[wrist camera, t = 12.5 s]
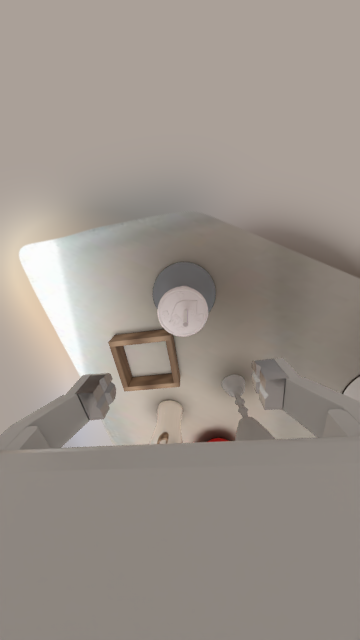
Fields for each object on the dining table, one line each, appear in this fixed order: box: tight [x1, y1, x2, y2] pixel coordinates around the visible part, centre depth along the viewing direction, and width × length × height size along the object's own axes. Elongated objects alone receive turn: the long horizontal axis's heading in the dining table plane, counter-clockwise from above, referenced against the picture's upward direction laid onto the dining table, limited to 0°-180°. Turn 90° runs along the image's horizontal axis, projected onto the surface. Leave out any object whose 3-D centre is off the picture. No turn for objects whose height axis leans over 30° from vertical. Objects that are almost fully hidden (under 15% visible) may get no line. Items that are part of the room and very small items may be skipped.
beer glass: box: [149, 400, 183, 444], centre depth 33 cm, size 7×7×15 cm
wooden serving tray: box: [108, 329, 180, 391], centre depth 34 cm, size 12×12×3 cm
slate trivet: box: [153, 262, 216, 313], centre depth 30 cm, size 11×11×1 cm
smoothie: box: [157, 286, 208, 337], centre depth 23 cm, size 6×6×14 cm
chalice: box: [222, 375, 275, 441], centre depth 28 cm, size 7×7×18 cm
